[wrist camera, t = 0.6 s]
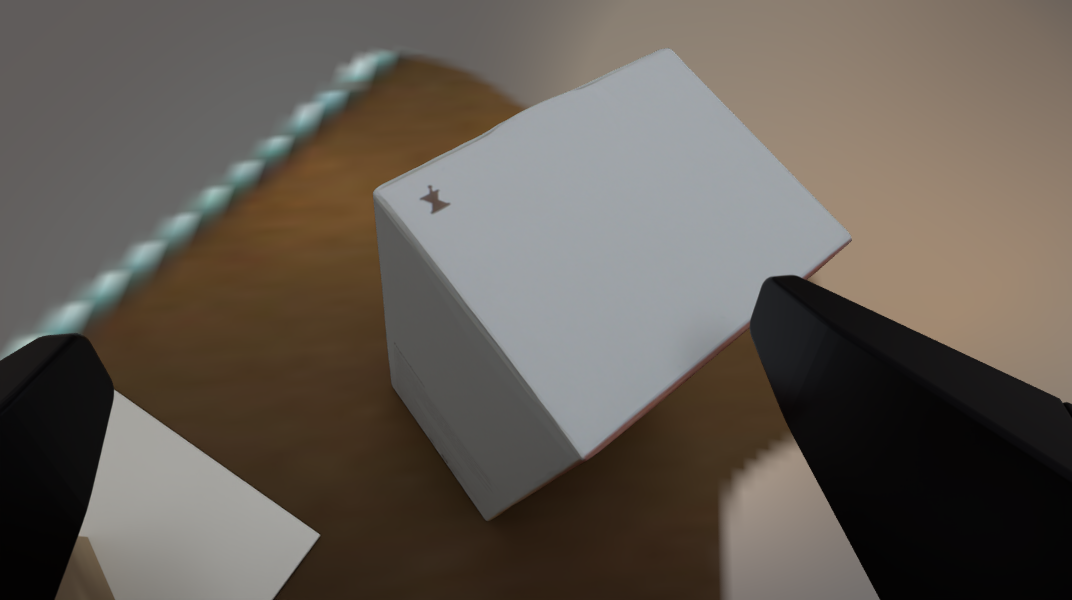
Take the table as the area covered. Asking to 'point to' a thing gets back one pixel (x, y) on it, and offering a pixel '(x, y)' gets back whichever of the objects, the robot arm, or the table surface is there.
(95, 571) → the oak block
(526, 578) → the table surface
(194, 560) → the tile
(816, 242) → the small box
